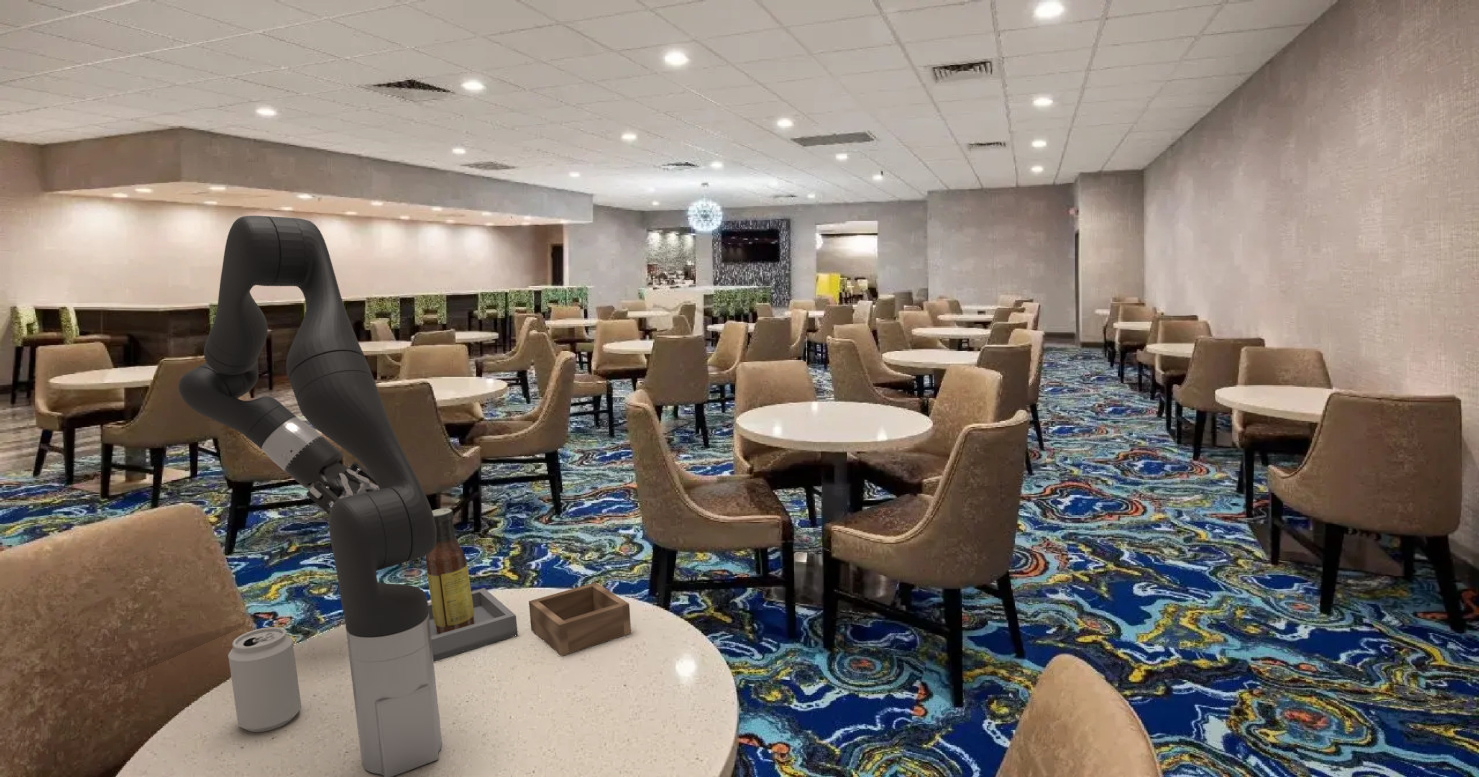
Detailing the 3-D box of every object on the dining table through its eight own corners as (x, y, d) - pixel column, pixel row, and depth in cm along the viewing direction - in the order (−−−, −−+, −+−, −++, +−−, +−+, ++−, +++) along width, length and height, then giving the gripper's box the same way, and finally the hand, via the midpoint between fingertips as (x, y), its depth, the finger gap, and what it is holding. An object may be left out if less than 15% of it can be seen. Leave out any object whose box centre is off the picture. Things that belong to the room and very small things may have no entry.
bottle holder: (631, 633, 132) (629, 603, 132) (561, 656, 126) (559, 625, 125) (597, 610, 142) (595, 582, 141) (531, 630, 135) (528, 601, 134)
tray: (517, 635, 133) (515, 615, 133) (422, 664, 125) (420, 643, 124) (485, 607, 145) (484, 588, 145) (396, 631, 137) (394, 611, 136)
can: (241, 713, 113) (230, 631, 111) (303, 700, 116) (293, 619, 114) (234, 741, 106) (222, 653, 104) (300, 726, 109) (289, 640, 107)
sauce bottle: (481, 620, 137) (470, 505, 134) (465, 637, 131) (453, 517, 128) (443, 620, 138) (431, 505, 135) (426, 637, 132) (413, 517, 129)
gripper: (294, 445, 123) (379, 516, 125) (338, 426, 137) (414, 490, 139) (262, 481, 124) (347, 551, 125) (310, 458, 138) (386, 522, 139)
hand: (382, 519), depth 132 cm, fingers open, 8 cm apart
